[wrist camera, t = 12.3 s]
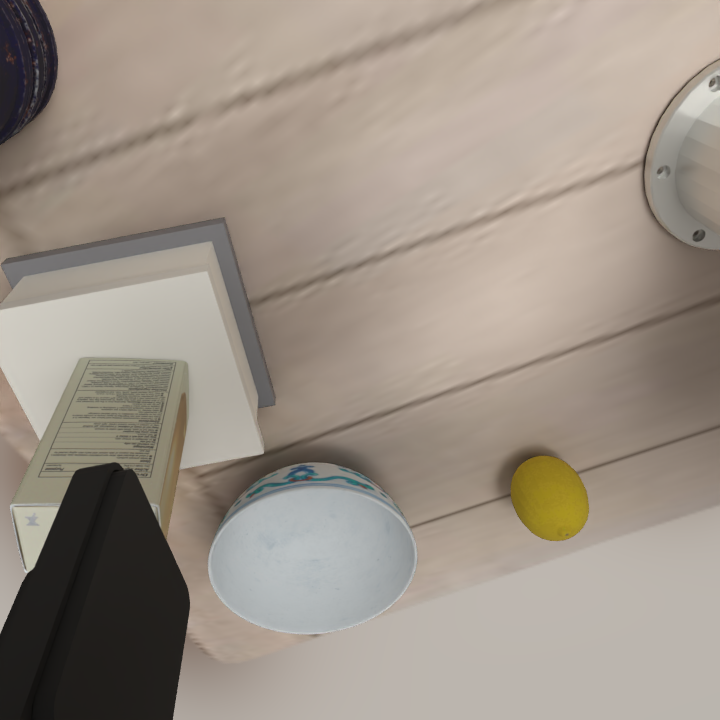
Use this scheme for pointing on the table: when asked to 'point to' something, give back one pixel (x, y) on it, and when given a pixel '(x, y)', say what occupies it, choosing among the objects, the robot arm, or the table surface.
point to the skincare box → (106, 440)
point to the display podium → (142, 328)
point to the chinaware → (312, 551)
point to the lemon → (549, 498)
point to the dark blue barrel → (24, 64)
